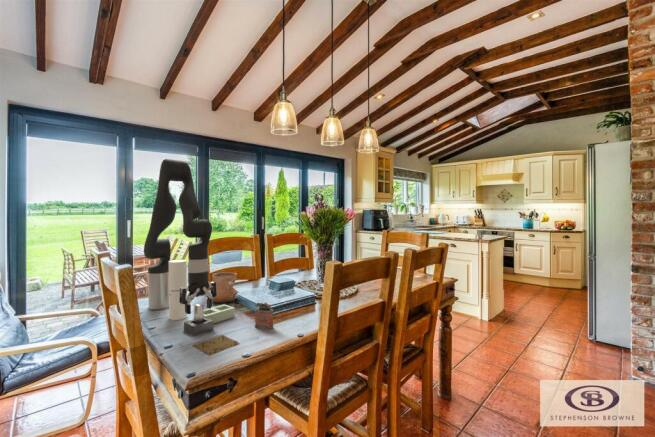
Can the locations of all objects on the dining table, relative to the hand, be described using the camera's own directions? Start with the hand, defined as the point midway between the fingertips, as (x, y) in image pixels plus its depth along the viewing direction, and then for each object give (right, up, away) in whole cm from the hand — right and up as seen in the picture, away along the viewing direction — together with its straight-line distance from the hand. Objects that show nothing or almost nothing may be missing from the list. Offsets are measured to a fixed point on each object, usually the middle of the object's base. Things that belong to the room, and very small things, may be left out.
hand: (199, 311), depth 122 cm
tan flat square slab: (+11, -9, -13) cm, 19 cm away
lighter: (+25, -8, +3) cm, 27 cm away
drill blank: (0, -7, 0) cm, 7 cm away
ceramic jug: (-3, -7, +40) cm, 41 cm away
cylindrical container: (-15, -7, +15) cm, 23 cm away
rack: (+2, -7, +13) cm, 15 cm away
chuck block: (0, -8, 0) cm, 8 cm away
